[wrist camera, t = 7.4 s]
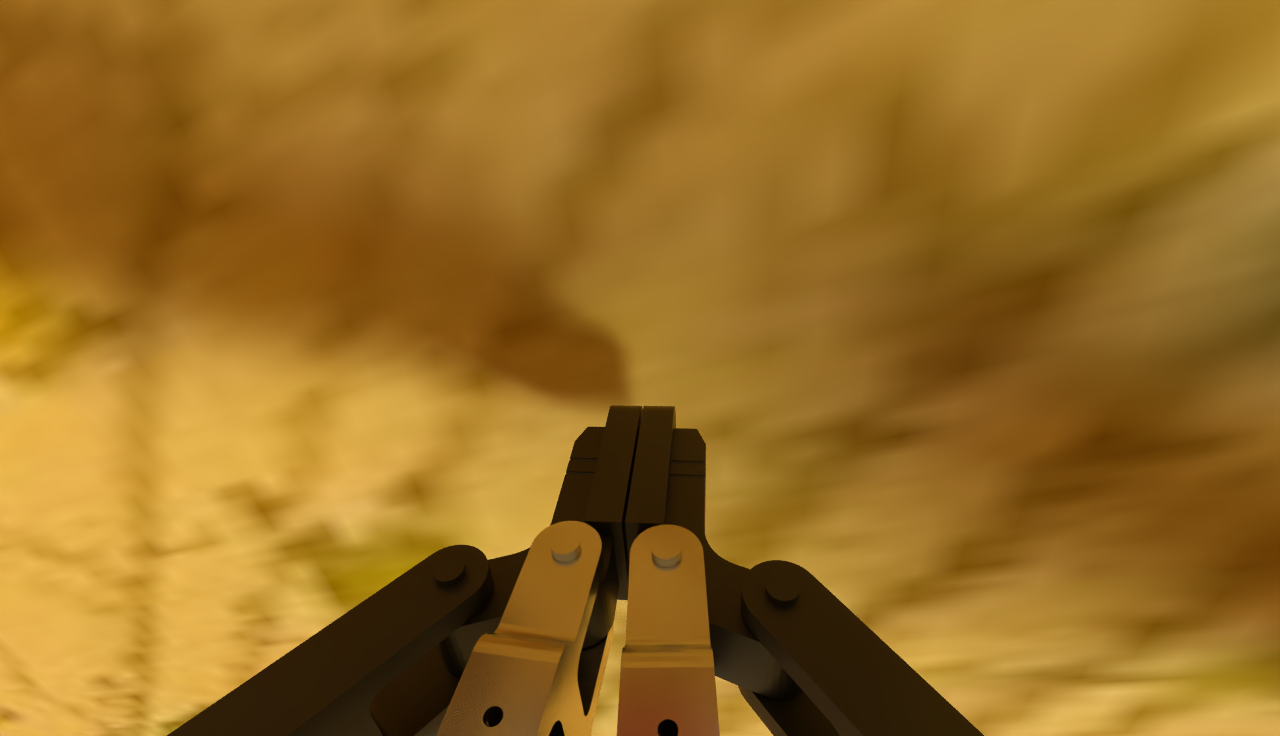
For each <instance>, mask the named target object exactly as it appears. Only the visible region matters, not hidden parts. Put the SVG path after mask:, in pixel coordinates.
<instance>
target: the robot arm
mask: <svg viewBox="0 0 1280 736" xmlns="http://www.w3.org/2000/svg"><path fill="white" fill-rule="evenodd" d="M705 481H706V444H705V442H704V440H703V439H702V437H701V435H700V434H699V432H698V430H697V429H680V428H676V415H675V407H673V406H644V407H643V408H642V406H611V407H610V409H609V413H608V418H607V422H606V426H605V427H587V428H586V430H585V431H584V432H583V433H582V434H581V435H580V436H579V437H578V438H577V440H576V441H575V443H574V446H573V450H572V453H571V457H570V461H569V464H568V467H567V471H566V475H565V477H564V481H563V484H562V488H561V491H560V495H559V498H558V502H557V505H556V509H555V512H554V515H553V519H552V522H551V525H550V526H549V527H547V528H545V529H544V530H543V531H541V532H540V533H539V534H538V535H537V537H536V538H535V539H534V541H533V543H532V545H531V547H530V548H528V549H526V550H524V551H521V552H519V553H515V554H512V555H508V556H503V557H499V558H495V559H490V560H487V558H486V556H485V555H484V553H483V552H482V551H480V550H479V549H477V548H475V547H473V546H469V545H454V546H449V547H446V548H443V549H441V550H439V551H437V552H435V553H433V554H432V555H430V556H429V557H427V558H426V559H425V560H423V561H422V562H420V563H419V564H417V565H416V566H414V567H413V568H411V569H410V570H408V571H407V572H405V573H404V574H403V575H401V576H400V577H398V578H397V579H395V580H394V581H392V582H391V583H389V584H388V585H386V586H385V587H384V588H382V589H381V590H379V591H378V592H376V593H375V594H373V595H372V596H370V597H369V598H367V599H366V600H365V601H363V602H362V603H360V604H359V605H357V606H356V607H354V608H353V609H351V610H350V611H348V612H347V613H346V614H344V615H343V616H341V617H340V618H338V619H337V620H335V621H334V622H332V623H331V624H329V625H328V626H327V627H325V628H324V629H322V630H321V631H319V632H318V633H316V634H315V635H313V636H312V637H310V638H309V639H308V640H306V641H305V642H303V643H302V644H300V645H299V646H297V647H296V648H294V649H293V650H291V651H290V652H289V653H287V654H286V655H284V656H283V657H281V658H280V659H278V660H277V661H275V662H274V663H272V664H271V665H269V666H268V667H267V668H265V669H264V670H262V671H261V672H259V673H258V674H256V675H255V676H253V677H252V678H250V679H249V680H248V681H246V682H245V683H243V684H242V685H240V686H239V687H237V688H236V689H234V690H233V691H231V692H230V693H229V694H227V695H226V696H224V697H223V698H221V699H220V700H218V701H217V702H215V703H214V704H212V705H211V706H210V707H208V708H207V709H205V710H204V711H202V712H201V713H199V714H198V715H196V716H195V717H193V718H192V719H191V720H189V721H188V722H186V723H185V724H183V725H182V726H180V727H179V728H177V729H176V730H174V731H173V732H172V733H170V734H169V735H167V736H591V732H592V725H593V720H594V715H595V711H596V707H597V702H598V698H599V694H600V689H601V685H602V681H603V677H604V672H605V668H606V664H607V659H608V655H609V651H610V646H611V642H612V638H613V621H614V616H615V610H616V603H617V599H618V600H628V605H627V625H626V643H625V647H623V650H622V656H621V670H620V688H619V706H618V724H617V736H720V735H719V722H718V709H717V697H716V684H715V676H717V677H719V678H722V679H724V680H727V681H729V682H731V683H734V684H736V685H738V687H739V689H740V692H741V694H742V695H743V697H744V698H745V700H746V701H747V702H748V703H749V705H750V706H751V707H752V709H753V710H754V711H755V712H756V714H757V715H758V716H759V717H760V719H761V720H762V721H763V723H764V724H765V725H766V726H767V728H768V729H769V730H770V731H771V733H772V734H773V735H774V736H984V735H983V734H982V733H981V732H980V731H979V730H978V729H976V728H975V727H974V726H973V725H972V724H971V723H970V722H969V721H968V720H967V719H966V718H965V717H964V716H963V715H961V714H960V713H959V712H958V711H957V710H956V709H955V708H954V707H953V706H952V705H951V704H950V703H949V702H948V701H946V700H945V699H944V698H943V697H942V696H941V695H940V694H939V693H938V692H937V691H936V690H935V689H934V688H933V687H931V686H930V685H929V684H928V683H927V682H926V681H925V680H924V679H923V678H922V677H921V676H920V675H919V674H918V673H917V672H915V671H914V670H913V669H912V668H911V667H910V666H909V665H908V664H907V663H906V662H905V661H904V660H903V659H902V658H900V657H899V656H898V655H897V654H896V653H895V652H894V651H893V650H892V649H891V648H890V647H889V646H888V645H887V644H885V643H884V642H883V641H882V640H881V639H880V638H879V637H878V636H877V635H876V634H875V633H874V632H873V631H872V630H870V629H869V628H868V627H867V626H866V625H865V624H864V623H863V622H862V621H861V620H860V619H859V618H858V617H857V616H855V615H854V614H853V613H852V612H851V611H850V610H849V609H848V608H847V607H846V606H845V605H844V604H843V603H842V602H840V601H839V600H838V599H837V598H836V597H835V596H834V595H833V594H832V593H831V592H830V591H829V590H828V589H827V588H825V587H824V586H823V585H822V584H821V583H820V582H819V581H818V580H817V579H816V578H815V577H814V576H813V575H812V574H810V573H809V572H808V571H807V570H806V569H804V568H802V567H801V566H799V565H796V564H794V563H791V562H787V561H781V560H772V561H766V562H763V563H760V564H758V565H756V566H754V567H753V568H752V569H751V570H750V569H747V568H744V567H741V566H738V565H735V564H733V563H730V562H728V561H726V560H725V559H723V558H721V557H720V556H719V555H717V554H716V553H715V552H714V551H713V550H712V548H711V547H710V546H709V544H708V542H707V540H706V537H705Z"/></svg>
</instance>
